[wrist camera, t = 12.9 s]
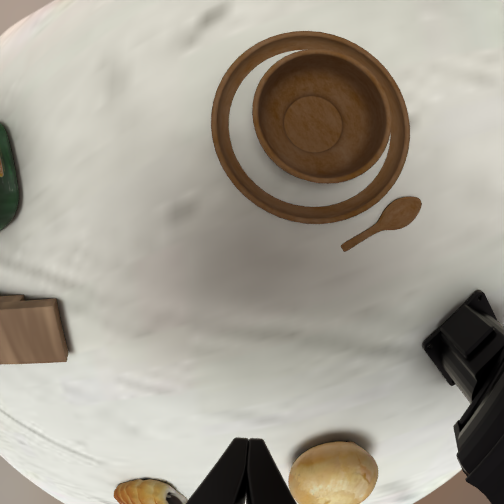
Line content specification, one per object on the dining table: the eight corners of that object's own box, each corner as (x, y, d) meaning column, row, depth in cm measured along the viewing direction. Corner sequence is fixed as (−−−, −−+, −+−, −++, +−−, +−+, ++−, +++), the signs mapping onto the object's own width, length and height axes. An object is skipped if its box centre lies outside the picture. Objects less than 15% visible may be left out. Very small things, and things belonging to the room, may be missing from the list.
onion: (269, 458, 25) (268, 518, 18) (337, 415, 24) (353, 480, 17) (322, 485, 26) (328, 538, 19) (385, 448, 25) (403, 503, 18)
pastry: (136, 504, 30) (129, 525, 26) (105, 476, 28) (94, 497, 25) (196, 503, 28) (191, 527, 25) (164, 473, 27) (156, 499, 23)
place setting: (158, 68, 18) (122, 38, 12) (389, -40, 15) (414, -79, 9) (302, 285, 21) (313, 326, 16) (508, 148, 18) (559, 149, 12)
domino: (52, 306, 20) (-46, 312, 17) (66, 361, 22) (-29, 364, 18) (56, 298, 22) (-39, 304, 18) (68, 351, 23) (-23, 355, 19)
